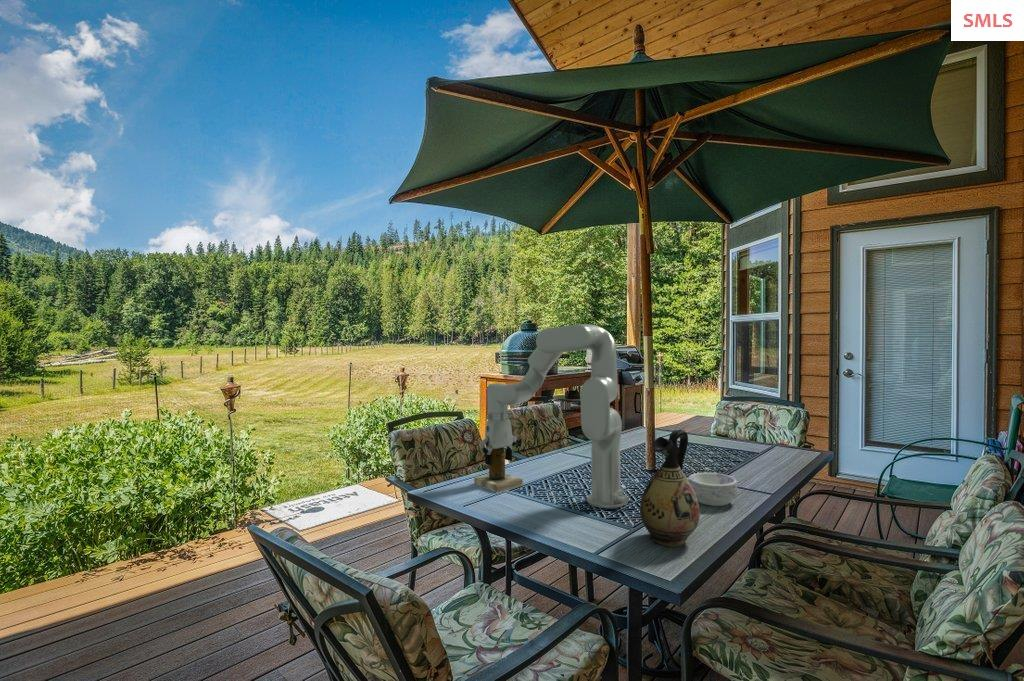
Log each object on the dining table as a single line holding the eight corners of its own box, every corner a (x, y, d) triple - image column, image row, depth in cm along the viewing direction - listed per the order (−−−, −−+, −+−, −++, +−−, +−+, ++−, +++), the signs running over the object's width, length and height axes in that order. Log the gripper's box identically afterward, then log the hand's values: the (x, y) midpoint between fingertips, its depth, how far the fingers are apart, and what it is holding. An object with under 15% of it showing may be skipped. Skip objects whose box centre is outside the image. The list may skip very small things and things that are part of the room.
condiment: (498, 474, 192) (498, 443, 192) (513, 479, 185) (512, 446, 185) (483, 477, 187) (483, 446, 187) (497, 482, 180) (497, 450, 180)
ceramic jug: (676, 558, 125) (675, 438, 124) (628, 537, 137) (627, 429, 137) (715, 541, 134) (714, 430, 134) (667, 523, 147) (666, 422, 147)
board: (522, 485, 185) (522, 479, 185) (497, 492, 177) (497, 485, 177) (499, 477, 196) (499, 471, 195) (474, 483, 188) (474, 477, 188)
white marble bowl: (678, 497, 170) (678, 474, 170) (713, 492, 175) (713, 469, 175) (711, 512, 156) (710, 487, 156) (748, 506, 161) (748, 481, 161)
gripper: (485, 420, 177) (486, 468, 178) (521, 415, 189) (522, 460, 189) (473, 418, 183) (474, 464, 183) (509, 413, 194) (510, 456, 194)
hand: (498, 462), depth 186 cm, fingers open, 9 cm apart
